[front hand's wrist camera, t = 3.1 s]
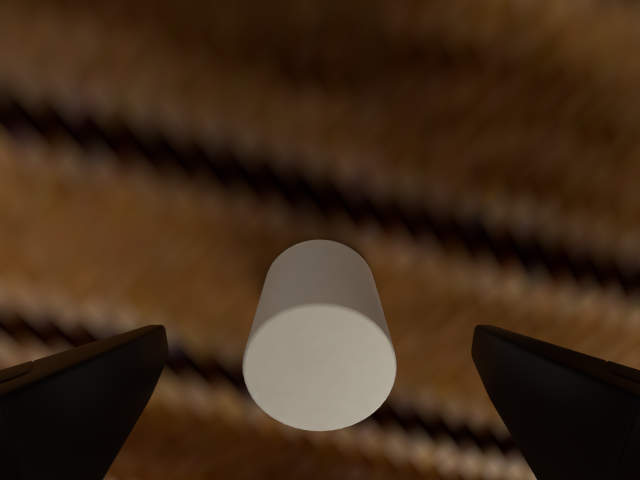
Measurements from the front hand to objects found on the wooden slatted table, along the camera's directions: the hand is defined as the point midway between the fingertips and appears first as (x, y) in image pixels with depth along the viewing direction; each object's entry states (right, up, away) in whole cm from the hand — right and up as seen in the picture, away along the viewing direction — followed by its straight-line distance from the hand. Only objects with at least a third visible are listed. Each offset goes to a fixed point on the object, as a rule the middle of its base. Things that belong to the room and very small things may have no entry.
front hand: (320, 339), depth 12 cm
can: (0, +1, +3) cm, 3 cm away
